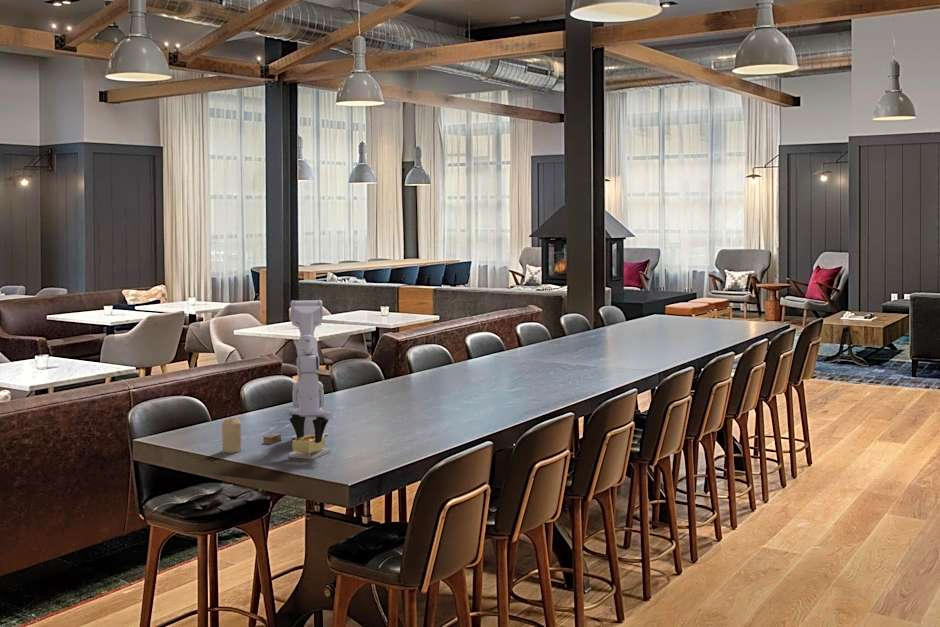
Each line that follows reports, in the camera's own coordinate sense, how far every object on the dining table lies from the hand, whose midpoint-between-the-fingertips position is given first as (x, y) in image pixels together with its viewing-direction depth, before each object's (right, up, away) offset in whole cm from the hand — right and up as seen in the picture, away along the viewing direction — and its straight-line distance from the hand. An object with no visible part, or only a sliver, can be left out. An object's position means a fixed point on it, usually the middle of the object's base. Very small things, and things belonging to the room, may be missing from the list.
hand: (309, 441), depth 298 cm
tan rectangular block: (-14, -2, +17) cm, 23 cm away
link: (0, -2, 0) cm, 2 cm away
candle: (-24, -4, +5) cm, 25 cm away
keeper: (0, -4, 0) cm, 4 cm away
